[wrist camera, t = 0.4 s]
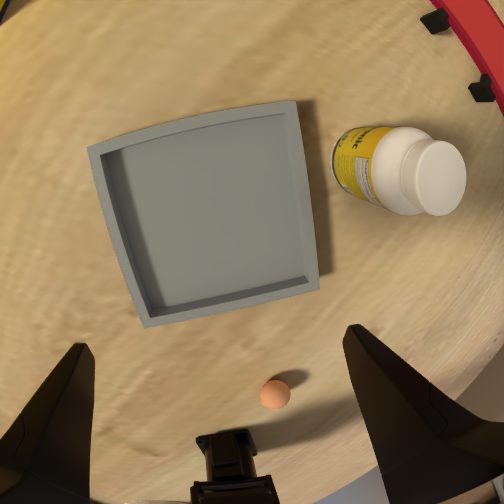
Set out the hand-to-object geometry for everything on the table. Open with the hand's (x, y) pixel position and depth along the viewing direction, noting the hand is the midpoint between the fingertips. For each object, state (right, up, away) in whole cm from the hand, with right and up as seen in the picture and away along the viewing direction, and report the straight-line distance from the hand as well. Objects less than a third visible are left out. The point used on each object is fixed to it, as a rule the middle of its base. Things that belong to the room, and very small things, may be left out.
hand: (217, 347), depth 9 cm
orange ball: (+3, -10, +19) cm, 22 cm away
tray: (-2, +6, +12) cm, 13 cm away
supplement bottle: (+9, +10, +12) cm, 19 cm away
